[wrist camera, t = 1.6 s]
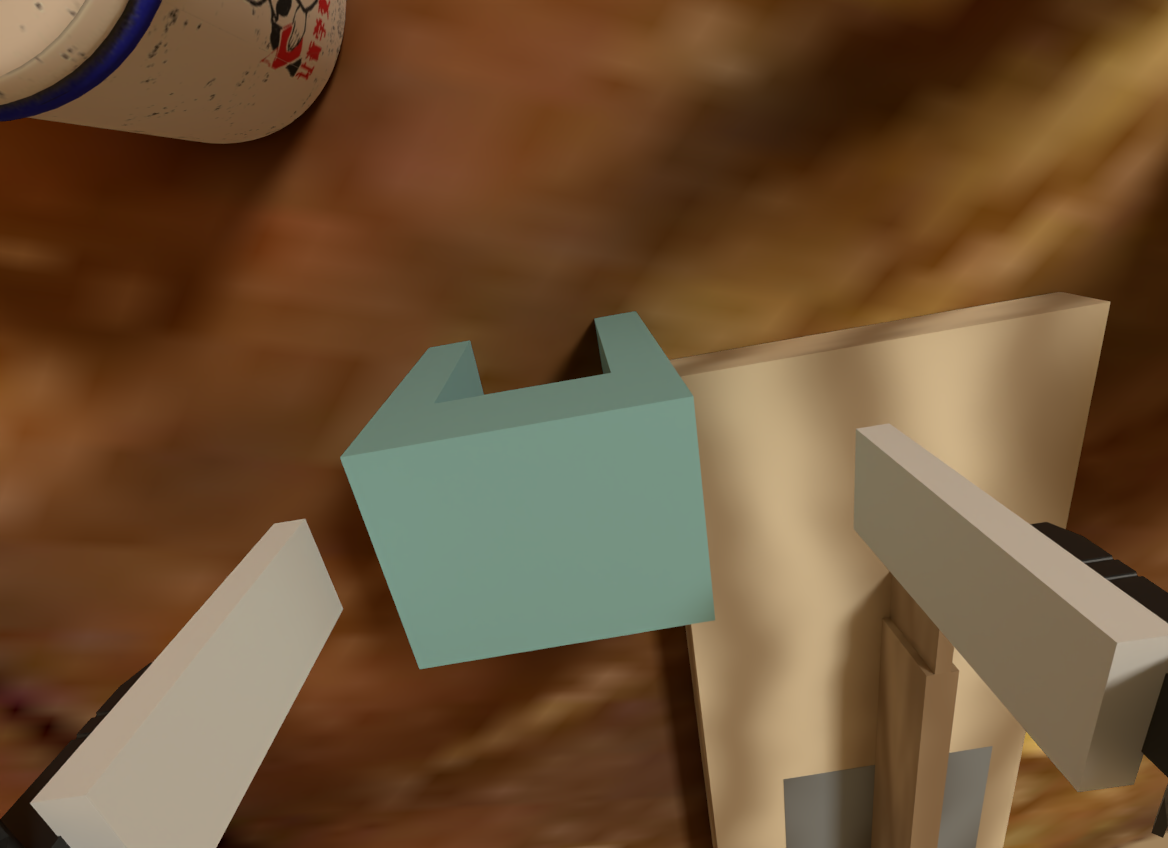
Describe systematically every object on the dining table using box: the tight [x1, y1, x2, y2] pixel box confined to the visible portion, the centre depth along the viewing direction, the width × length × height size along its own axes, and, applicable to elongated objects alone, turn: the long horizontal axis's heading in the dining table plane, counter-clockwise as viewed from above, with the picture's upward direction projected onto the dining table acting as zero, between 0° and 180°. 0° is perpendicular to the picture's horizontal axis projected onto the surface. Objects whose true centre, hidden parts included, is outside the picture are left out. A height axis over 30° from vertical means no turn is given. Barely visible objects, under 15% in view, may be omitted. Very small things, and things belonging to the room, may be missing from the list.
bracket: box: [340, 311, 715, 669], centre depth 17 cm, size 8×6×9 cm
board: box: [669, 292, 1110, 848], centre depth 24 cm, size 15×32×5 cm, turn 10°
